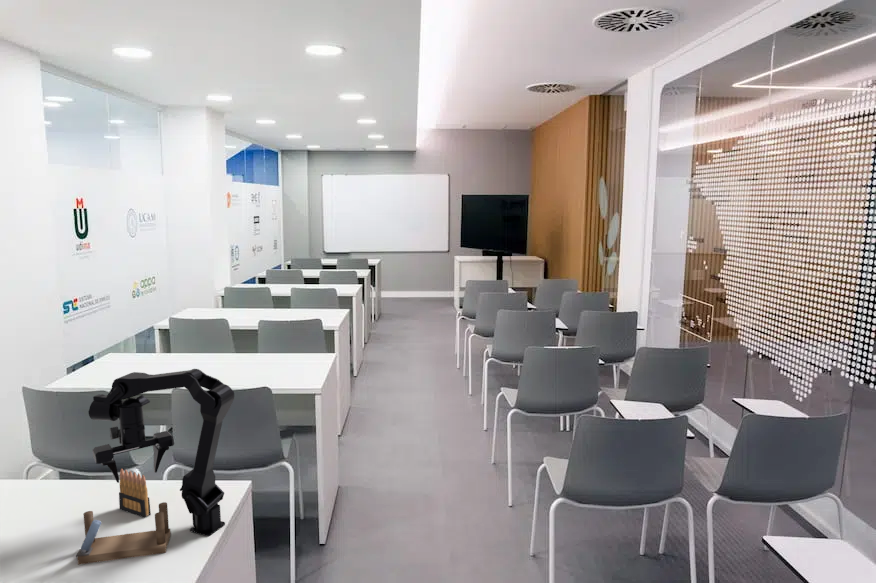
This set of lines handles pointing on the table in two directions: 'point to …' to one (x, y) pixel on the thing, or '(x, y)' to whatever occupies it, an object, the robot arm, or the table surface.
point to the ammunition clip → (134, 494)
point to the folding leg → (90, 536)
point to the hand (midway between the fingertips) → (137, 477)
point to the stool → (128, 541)
